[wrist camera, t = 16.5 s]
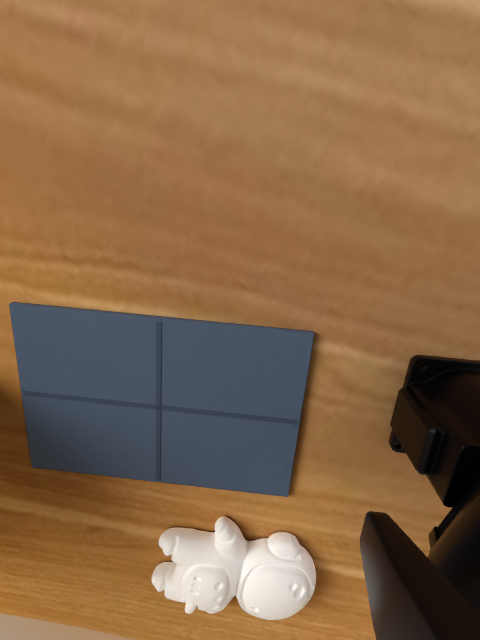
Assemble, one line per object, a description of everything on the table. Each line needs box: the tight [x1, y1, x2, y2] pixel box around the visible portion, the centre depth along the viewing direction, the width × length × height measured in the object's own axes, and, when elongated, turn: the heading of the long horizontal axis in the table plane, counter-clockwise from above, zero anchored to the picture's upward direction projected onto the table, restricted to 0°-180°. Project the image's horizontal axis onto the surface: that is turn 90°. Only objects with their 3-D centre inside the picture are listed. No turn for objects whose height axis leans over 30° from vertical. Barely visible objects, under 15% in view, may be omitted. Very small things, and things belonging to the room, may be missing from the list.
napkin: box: [9, 302, 314, 497], centre depth 22 cm, size 18×12×1 cm, turn 85°
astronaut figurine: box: [152, 516, 316, 620], centre depth 25 cm, size 9×12×3 cm
